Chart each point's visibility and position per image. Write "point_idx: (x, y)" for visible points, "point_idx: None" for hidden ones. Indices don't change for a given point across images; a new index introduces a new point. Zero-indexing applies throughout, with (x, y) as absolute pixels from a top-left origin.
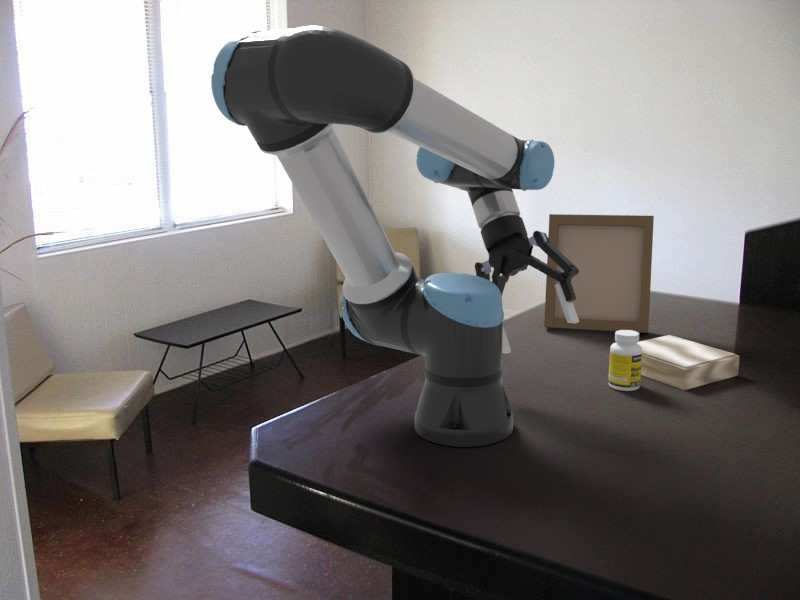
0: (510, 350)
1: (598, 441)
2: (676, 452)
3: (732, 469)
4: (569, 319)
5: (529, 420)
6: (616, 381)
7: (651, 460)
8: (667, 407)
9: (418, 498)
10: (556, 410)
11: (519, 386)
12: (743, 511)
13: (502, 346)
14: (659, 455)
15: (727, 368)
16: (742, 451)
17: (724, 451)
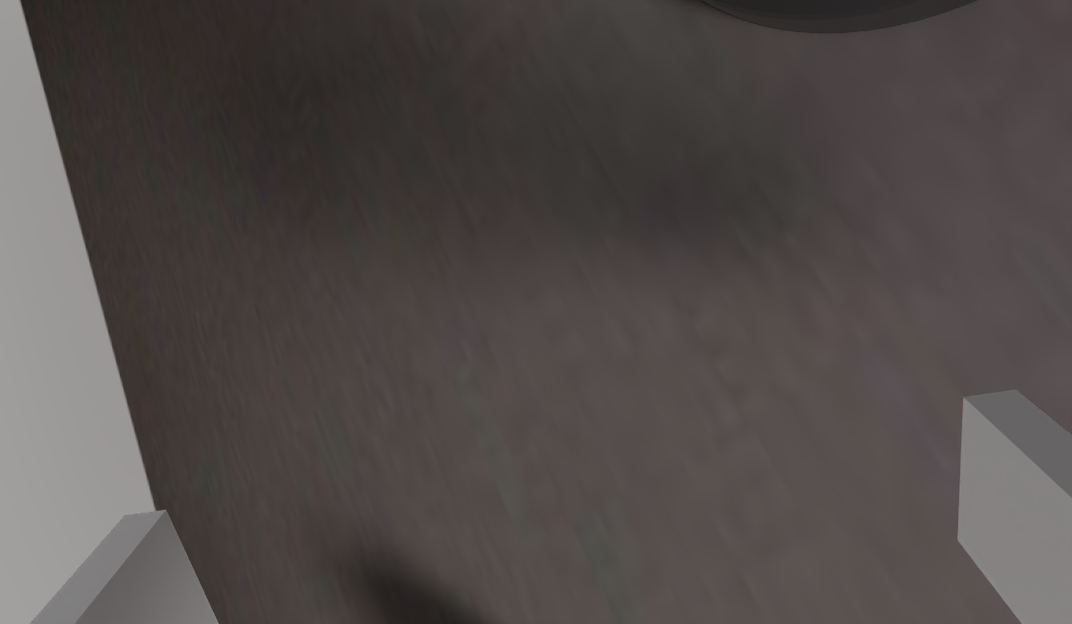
0: (965, 538)
1: (368, 125)
2: (226, 216)
3: (140, 208)
4: (126, 526)
5: (649, 110)
6: None
7: (235, 114)
8: (364, 560)
9: None
10: (620, 313)
11: None
12: (71, 20)
13: (995, 450)
14: (238, 163)
15: None
16: (163, 328)
17: (179, 302)
